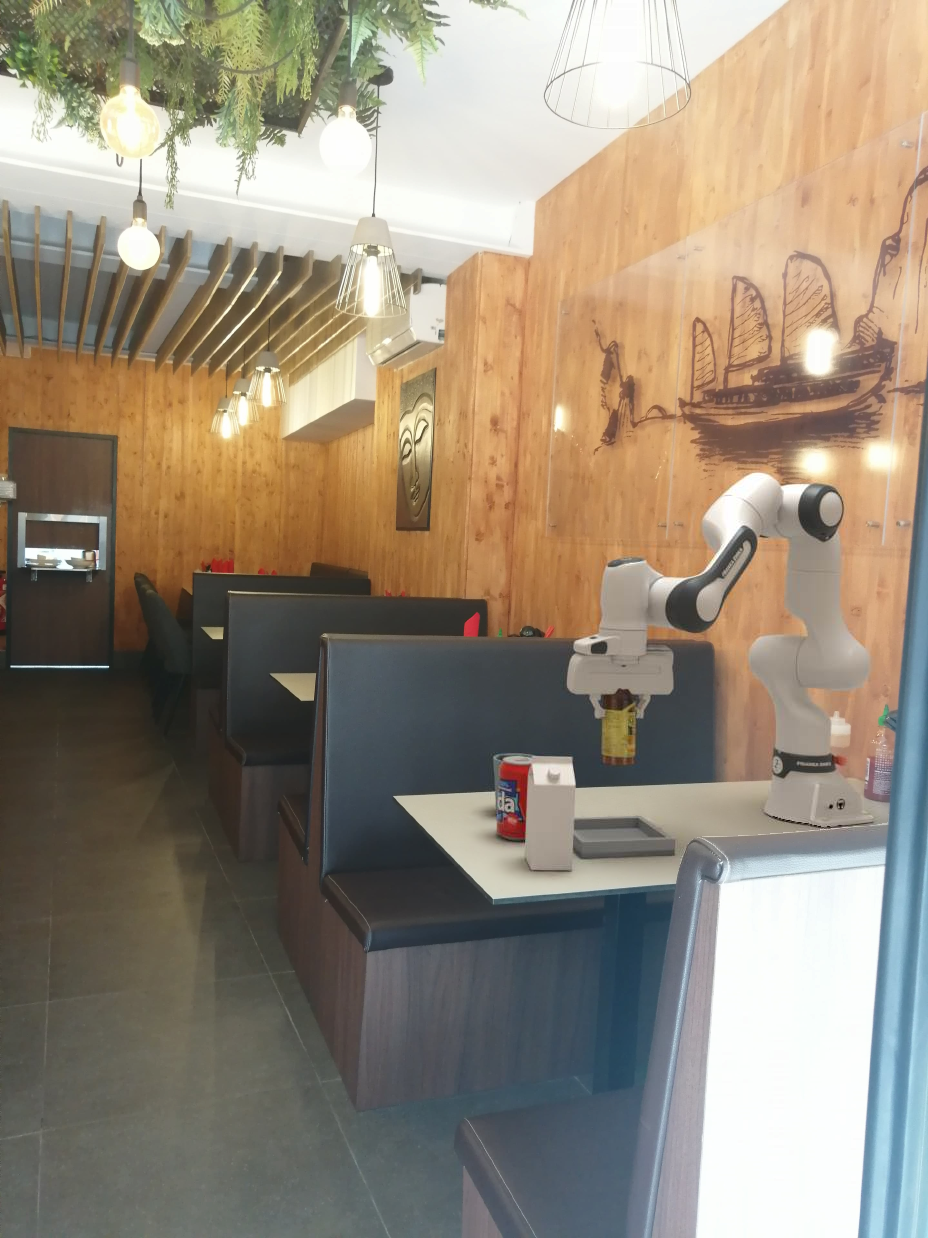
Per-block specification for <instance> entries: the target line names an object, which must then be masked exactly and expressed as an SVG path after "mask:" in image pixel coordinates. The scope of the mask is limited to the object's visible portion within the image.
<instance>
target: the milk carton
mask: <svg viewBox="0 0 928 1238" xmlns="http://www.w3.org/2000/svg"><path fill="white" fill-rule="evenodd" d="M573 758H574V757H573V756H537V755H535V756H532V763H531V766H530V770H529V773H528V788H527V812H526V836H525V842H524V857H525V860H526V862H527V864H528V866H529V868H530V870H531V871H572V870H573V855H574V854H573V853H574V851H573V832H574V818H575V806H576V805H575V804H576V788H577V787H576V778H575V772H574V766H573Z"/></svg>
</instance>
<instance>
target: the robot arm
mask: <svg viewBox="0 0 928 1238" xmlns="http://www.w3.org/2000/svg"><path fill="white" fill-rule="evenodd" d="M844 507H845V506H844V501H843V497H842V496H841V494H840V493H839V491H838V490H837V488H835V487H834V486H831V485H828V484H825V483H817V482H816V483H811V484H810V483H794V484H793V483H792V484H786V485H781V484H780V483H779V482H778V481H777V479H776V478H774V477H773V476H772V475H770V474H767V473H763V472H753V473H749V474H748V475H746V476H743V478H741V479H739V481H737V482H736V483H735V484H733V485H732V486H730V487H729V488H728V489H727V490H726V491H725V492H724V493H723V494H721V496H720V497H719V498H717V500H715V502H714V503H713V504H712V505H711V506H710V507H709V508H708V510H707V511H706V513H705V514H704V516H703V518H702V520H701V534H702V537H703V539H704V542H705V543H706V544H707V546H708V547H709V548H710V549H711V550H712V551H713V552H714V553H715V554H714V556H713V557H712V559H711V561H710V562H709V563H708V565H707V566H706V568H705V569H704V571H703V572H701V573H699V574H696V575H693V576H690V577H670V576H665V575H663V574H661V573H659V572H658V571H656V570H655V569H654V568H652V567H651V566H650V565H649V564H648V562H647V560H646V559H645V558H643V557H634V556H633V557H623V558H617V559H613V560H611V561H610V562H608V563H607V564H606V566H605V568H604V571H603V575H602V581H601V588H600V603H599V605H600V609H601V620H600V623H599V626H598V628H599V629H598V633H596V634H593V635H590V636H587V637H583V638H580V639H577V640H575V641H574V642H573V651H575V652H576V653H574V654H573V655H572V656H571V657H570V659H569V664H568V667H567V677H566V687H567V690H569V692H570V693H572V694H574V695H589V700H590V702H591V704H592V706H593V708H594V718H595V719H602V718H605V713H606V709H603V707H601V704H600V702H599V701H601V698H602V697H601V696H602V695H603V694H615V693H616V691H617V690H618V688H621V689H629V691H630V692H631V693H632V694H634V695H638V699H639V700H640V701H639V703H638V705H636V719H644V713H645V712H644V710H645V709H646V708H647V706H648V704H649V702H650V701H651V695H670V694H671V692H672V691H674V671H673V665H674V651H673V650H672V649H671V648H670V647H668V646H667V645H663V644H660V645H655V644H647V640H648V639H647V638H648V626H650V627H651V626H652V627H656V628H657V627H660V628H664V629H672V630H679V631H683V632H685V633H690V634H702V633H703V632H705V631H707V630H709V629H710V628H711V627H712V626H713V625H714V624H715V622H716V621H717V620H718V618H719V615H720V614H721V611H722V608H723V606H724V603H725V601H726V599H727V597H728V596H729V594H730V593H731V591H732V590H733V588H734V587H735V585H736V583H738V581H739V579H740V578H742V577H741V576H742V575H743V574H744V572H745V571H746V569H747V568H748V566H749V565H750V563H751V561H752V560H753V558H754V556H755V554H756V552H757V548H758V545H759V544H758V538H763V539H768V538H774V539H787V542H788V545H789V546H788V552H787V556H786V557H787V559H786V566H785V578H784V580H785V583H784V596H783V597H784V598H783V603H784V607H785V608H786V610H787V611H788V612H789V614H791V616H793V617H795V618H796V619H798V620H800V621H801V622H802V623H803V624H804V626H805V629H806V632H807V636H805V635H794V634H782V633H780V634H770V635H764V636H760V637H758V638H757V639H756V640H755V641H753V643H751V646H750V648H749V651H748V658H747V661H748V666H749V669H750V671H751V673H752V674H753V676H754V677H755V678H757V679H758V681H759V682H761V684H763V686H764V688H765V689H766V690H767V692H768V694H769V696H770V699H771V701H772V705H773V707H774V713H775V714H774V715H775V746H774V748H772V749H773V750H772V761H771V768H772V769H771V770H772V778H771V784H770V789H769V792H768V796H767V800H766V803H765V805H764V808H763V812H764V813H765V814H767V815H769V816H770V817H773V816H775V817H778V818H777V819H779V818H783V819H788V820H794V821H798V822H805V823H810V824H814V825H817V826H816V827H818V826H821V827H820V828H828V827H827V826H830V827H831V828H832V827H839V826H838V825H842V826H849V825H857V824H866V823H872V822H874V816H873V815H872V814H871V813H870V812H868V811H866V810H865V809H863V799H862V795H861V792H860V791H859V789H858V788H857V787H856V786H855V785H853V784H852V783H851V781H849V780H848V779H847V778H845V776H843V775H842V774H841V773H840V772H839V771H838V770H837V766H836V765H838V766H840V767H844V766H846V765H847V762H848V761H847V758H846V757H845V756H842V755H839V754H837V755H834V754H833V753H831V737H832V736H831V735H832V719H831V717H830V715H829V713H828V712H827V711H826V709H824V708H823V707H821V706H819V705H817V704H816V703H815V702H814V701H813V699H812V698H811V696H810V694H809V693H810V692H809V690H808V689H819V690H825V691H833V692H836V691H837V692H839V691H854V690H859V689H860V688H862V687H863V686H864V684H865V683H867V681H868V679H869V677H870V675H871V671H872V660H871V656H870V654H869V652H868V650H867V649H866V648H865V646H863V645H862V644H861V643H860V642H859V641H858V640H856V638H855V637H854V636H853V635H852V634H851V632H850V630H849V628H848V627H847V625H846V623H845V620H844V617H843V614H842V608H841V584H842V583H841V578H842V548H841V538H840V532H839V530H838V529H839V527H840V525H841V523H842V520H843V516H844V512H845V511H844V509H845V508H844ZM621 665H626V666H625V667H622V666H621ZM775 817H774V818H775ZM810 824H809V825H810ZM814 825H813V826H814ZM830 827H829V828H830Z"/></svg>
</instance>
